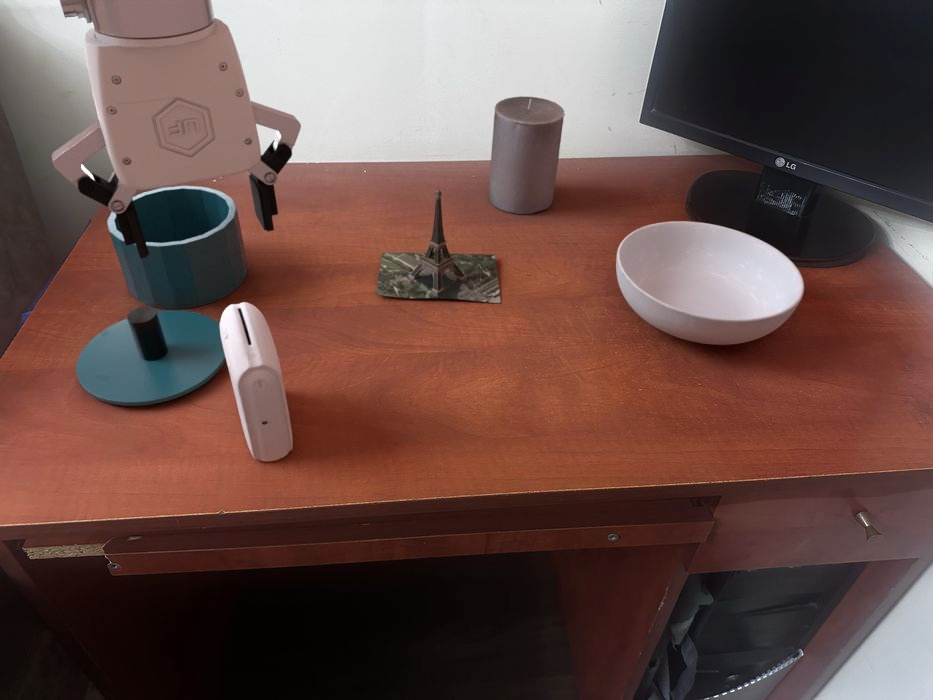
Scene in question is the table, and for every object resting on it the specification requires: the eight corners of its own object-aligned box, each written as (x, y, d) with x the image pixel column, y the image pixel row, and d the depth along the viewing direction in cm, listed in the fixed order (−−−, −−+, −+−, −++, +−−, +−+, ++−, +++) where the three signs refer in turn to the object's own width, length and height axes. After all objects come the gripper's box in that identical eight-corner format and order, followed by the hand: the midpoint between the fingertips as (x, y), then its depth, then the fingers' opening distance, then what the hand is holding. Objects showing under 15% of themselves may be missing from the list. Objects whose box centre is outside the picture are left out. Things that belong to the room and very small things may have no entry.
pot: (136, 321, 80) (115, 257, 74) (121, 258, 90) (101, 198, 84) (260, 292, 85) (248, 230, 80) (233, 236, 95) (221, 177, 89)
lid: (85, 428, 67) (64, 381, 63) (73, 338, 77) (55, 292, 73) (244, 384, 73) (234, 338, 69) (214, 305, 83) (203, 260, 79)
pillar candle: (494, 180, 110) (500, 83, 100) (556, 188, 109) (569, 91, 99) (482, 210, 102) (488, 108, 93) (549, 219, 101) (562, 117, 92)
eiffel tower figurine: (496, 257, 93) (503, 162, 84) (500, 303, 85) (508, 203, 77) (382, 255, 92) (377, 159, 84) (375, 300, 85) (369, 200, 76)
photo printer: (299, 456, 66) (281, 354, 58) (252, 469, 64) (227, 366, 56) (277, 385, 73) (258, 286, 65) (234, 395, 71) (210, 295, 63)
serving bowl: (823, 337, 82) (846, 288, 78) (688, 393, 74) (705, 342, 70) (698, 250, 96) (711, 205, 92) (572, 290, 88) (580, 242, 83)
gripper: (1, 38, 40) (94, 286, 51) (299, 9, 47) (324, 235, 58) (-1, 4, 45) (84, 237, 56) (268, -18, 52) (296, 195, 63)
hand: (205, 236), depth 57 cm, fingers open, 9 cm apart
